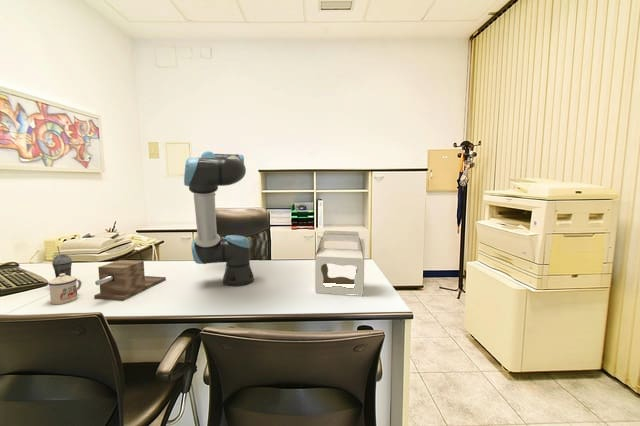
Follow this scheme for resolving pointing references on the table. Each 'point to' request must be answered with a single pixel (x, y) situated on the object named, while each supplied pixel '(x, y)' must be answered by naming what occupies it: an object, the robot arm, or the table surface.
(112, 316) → the table surface
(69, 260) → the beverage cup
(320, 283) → the gable box
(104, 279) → the plunger
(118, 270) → the block
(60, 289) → the teacup with lid
